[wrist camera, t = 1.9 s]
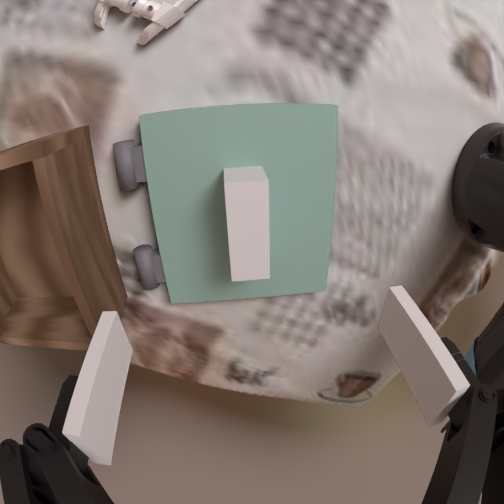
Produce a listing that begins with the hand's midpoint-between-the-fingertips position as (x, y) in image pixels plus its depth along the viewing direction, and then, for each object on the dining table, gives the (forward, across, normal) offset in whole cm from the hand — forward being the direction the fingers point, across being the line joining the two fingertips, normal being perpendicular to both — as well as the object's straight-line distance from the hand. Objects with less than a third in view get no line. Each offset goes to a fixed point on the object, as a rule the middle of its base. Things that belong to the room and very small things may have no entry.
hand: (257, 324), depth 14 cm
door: (+15, +1, 0) cm, 15 cm away
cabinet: (+15, +23, 0) cm, 27 cm away
